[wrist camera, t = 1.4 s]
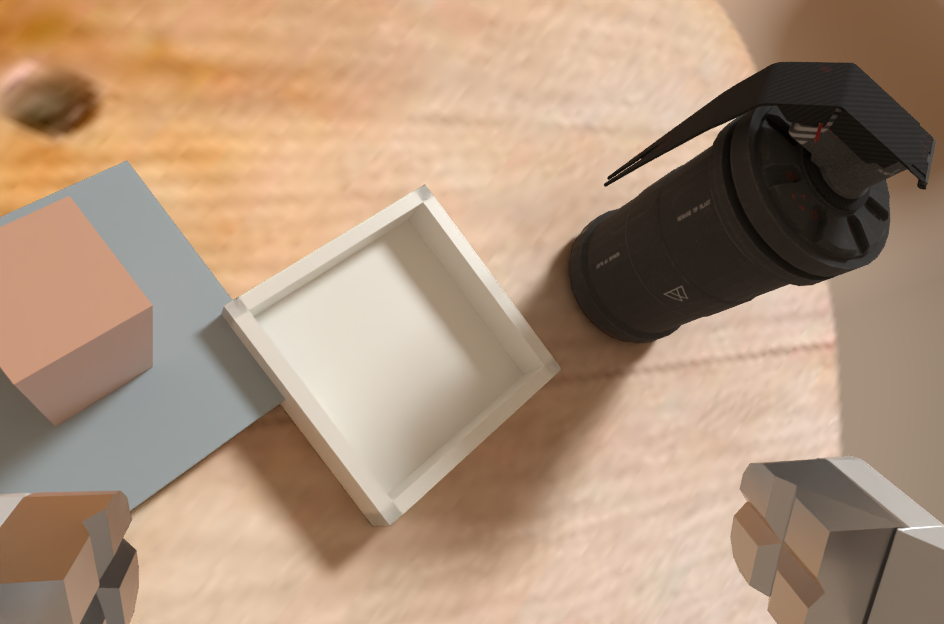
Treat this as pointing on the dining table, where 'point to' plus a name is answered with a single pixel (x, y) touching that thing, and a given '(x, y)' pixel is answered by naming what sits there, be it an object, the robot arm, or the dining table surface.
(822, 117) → the grenade
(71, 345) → the tall salmon pillar
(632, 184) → the dining table surface
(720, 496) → the dining table surface
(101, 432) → the plate
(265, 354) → the box
